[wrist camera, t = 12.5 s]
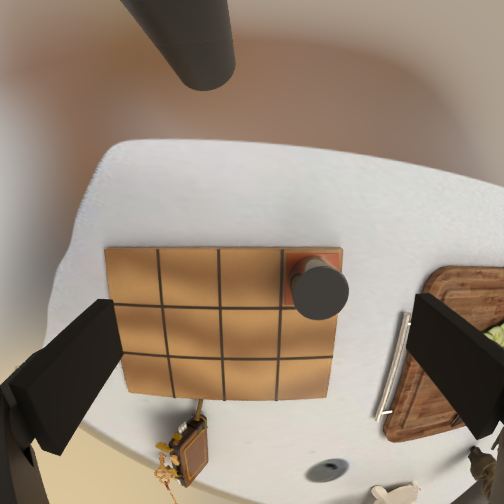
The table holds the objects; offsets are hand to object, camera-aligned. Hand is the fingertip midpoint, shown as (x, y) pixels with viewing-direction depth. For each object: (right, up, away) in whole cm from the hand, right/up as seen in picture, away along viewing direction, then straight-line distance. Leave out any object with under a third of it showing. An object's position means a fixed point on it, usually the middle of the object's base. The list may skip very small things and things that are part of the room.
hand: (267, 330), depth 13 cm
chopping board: (+39, -12, +22) cm, 46 cm away
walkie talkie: (-8, -19, +24) cm, 32 cm away
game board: (-4, -5, +20) cm, 21 cm away
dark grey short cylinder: (+5, 0, +18) cm, 18 cm away
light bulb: (+42, -35, +27) cm, 61 cm away
